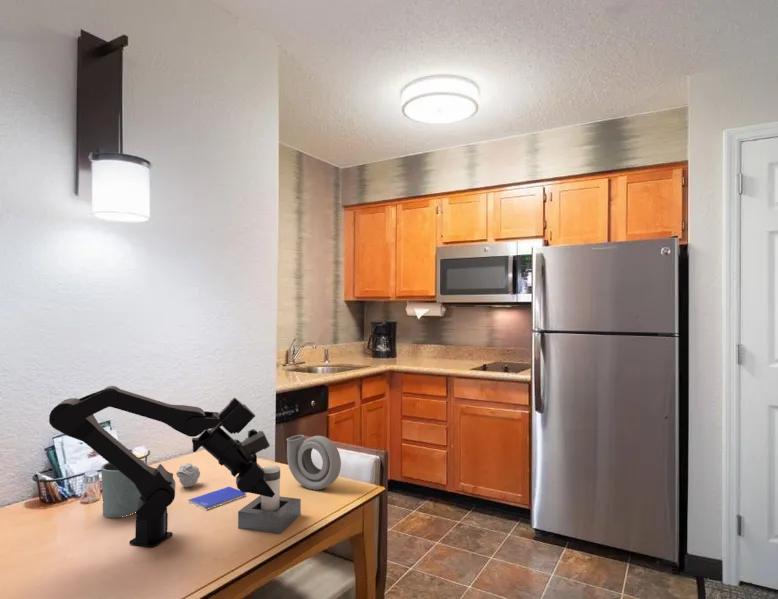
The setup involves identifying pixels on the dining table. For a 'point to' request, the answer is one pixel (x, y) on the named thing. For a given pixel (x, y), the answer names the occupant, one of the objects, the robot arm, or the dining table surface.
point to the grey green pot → (118, 492)
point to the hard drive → (217, 497)
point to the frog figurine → (188, 475)
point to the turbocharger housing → (304, 466)
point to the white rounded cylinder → (274, 482)
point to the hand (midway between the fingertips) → (270, 488)
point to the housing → (269, 515)
